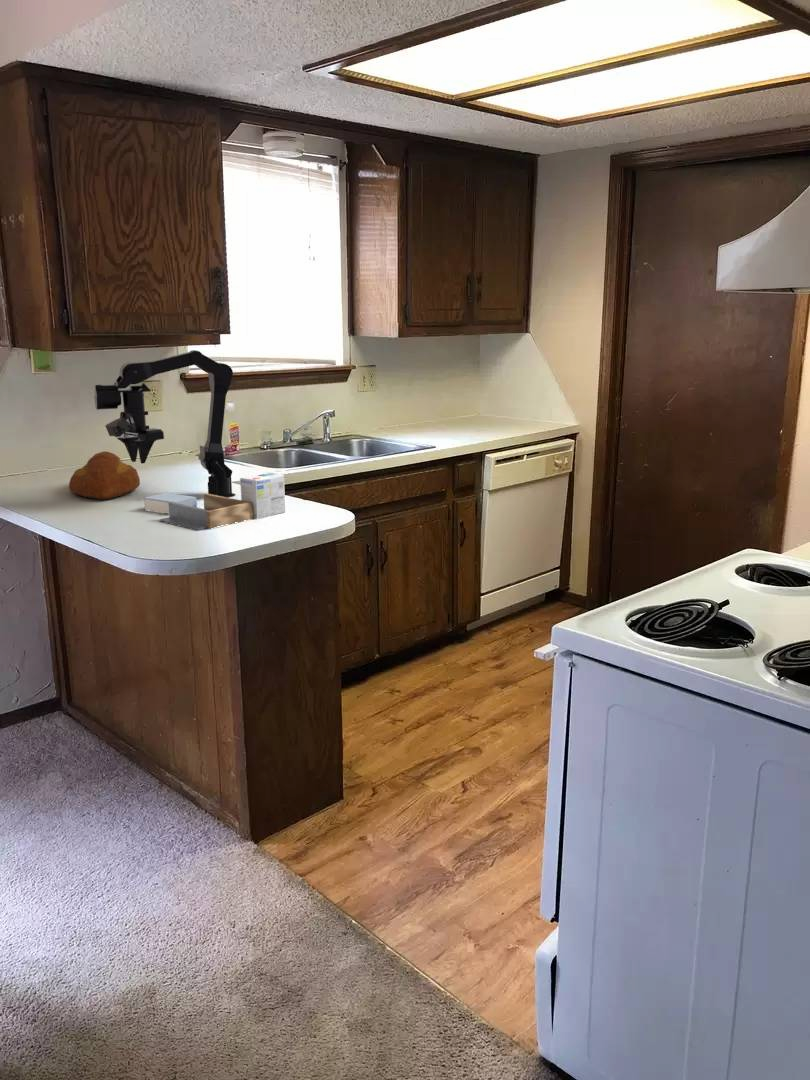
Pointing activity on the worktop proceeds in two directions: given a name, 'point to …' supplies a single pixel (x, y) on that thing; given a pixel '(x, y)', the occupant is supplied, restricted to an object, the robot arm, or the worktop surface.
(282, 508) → the light bulb box
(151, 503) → the boxed book
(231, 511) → the oak shelf corner
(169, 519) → the grey angle iron
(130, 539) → the worktop surface
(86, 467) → the bread
